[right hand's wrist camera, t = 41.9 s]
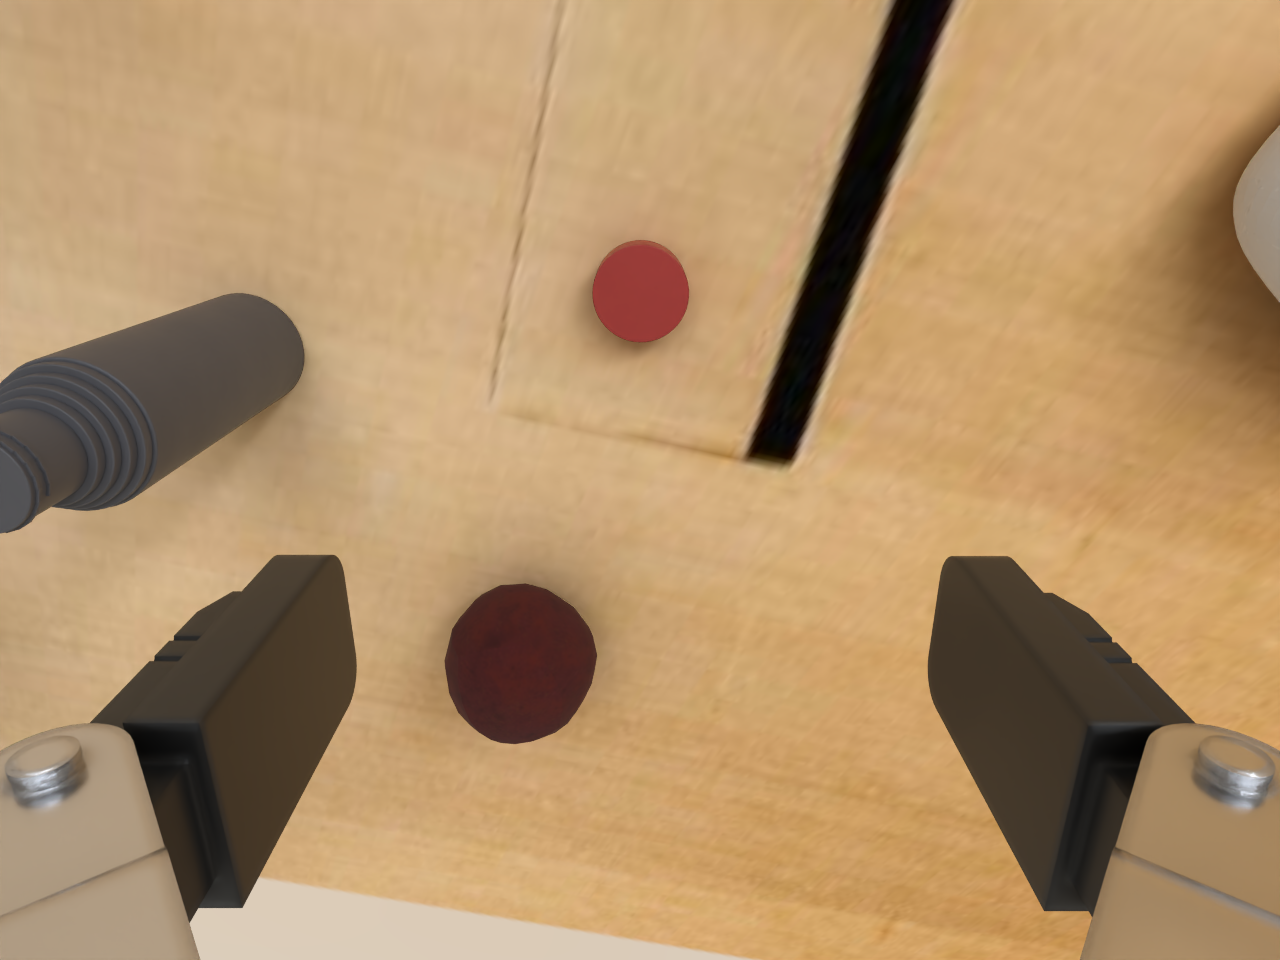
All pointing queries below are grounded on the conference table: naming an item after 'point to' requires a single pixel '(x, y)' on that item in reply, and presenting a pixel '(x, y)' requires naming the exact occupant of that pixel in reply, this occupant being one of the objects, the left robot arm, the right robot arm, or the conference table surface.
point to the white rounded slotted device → (1261, 212)
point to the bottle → (138, 404)
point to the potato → (519, 663)
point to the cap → (640, 291)
